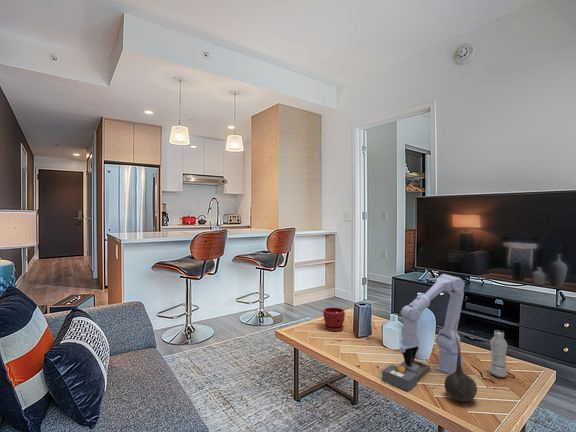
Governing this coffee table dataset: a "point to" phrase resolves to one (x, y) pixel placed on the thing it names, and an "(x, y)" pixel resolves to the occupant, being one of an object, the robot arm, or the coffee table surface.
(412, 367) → the carriage
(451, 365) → the robot arm
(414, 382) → the grey open box
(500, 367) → the plastic bottle
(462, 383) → the radish
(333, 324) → the plant pot
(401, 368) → the button
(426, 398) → the coffee table surface
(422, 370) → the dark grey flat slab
